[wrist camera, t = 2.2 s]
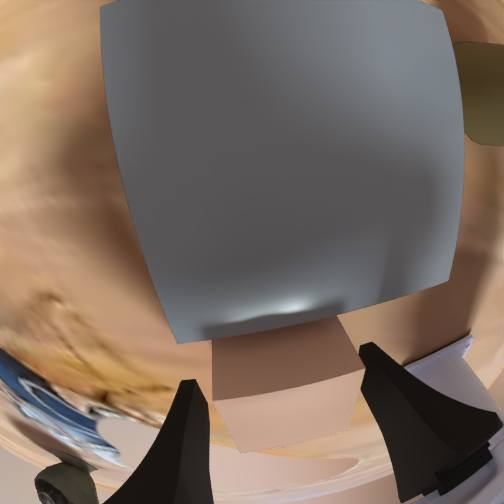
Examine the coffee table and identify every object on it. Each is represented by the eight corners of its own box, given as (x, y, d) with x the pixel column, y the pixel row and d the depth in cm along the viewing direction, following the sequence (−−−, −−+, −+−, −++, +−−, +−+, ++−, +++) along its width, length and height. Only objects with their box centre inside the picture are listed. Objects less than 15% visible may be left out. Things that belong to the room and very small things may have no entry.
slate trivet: (411, 250, 12) (448, 280, 9) (184, 295, 11) (177, 344, 9) (399, 25, 7) (442, 10, 4) (130, 35, 7) (100, 7, 4)
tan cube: (319, 358, 14) (347, 430, 10) (232, 375, 14) (240, 453, 10) (320, 288, 12) (365, 368, 8) (212, 308, 12) (212, 401, 7)
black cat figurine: (55, 440, 19) (35, 446, 20) (40, 518, 8) (22, 507, 10) (121, 473, 23) (90, 476, 25) (117, 544, 12) (84, 533, 14)
